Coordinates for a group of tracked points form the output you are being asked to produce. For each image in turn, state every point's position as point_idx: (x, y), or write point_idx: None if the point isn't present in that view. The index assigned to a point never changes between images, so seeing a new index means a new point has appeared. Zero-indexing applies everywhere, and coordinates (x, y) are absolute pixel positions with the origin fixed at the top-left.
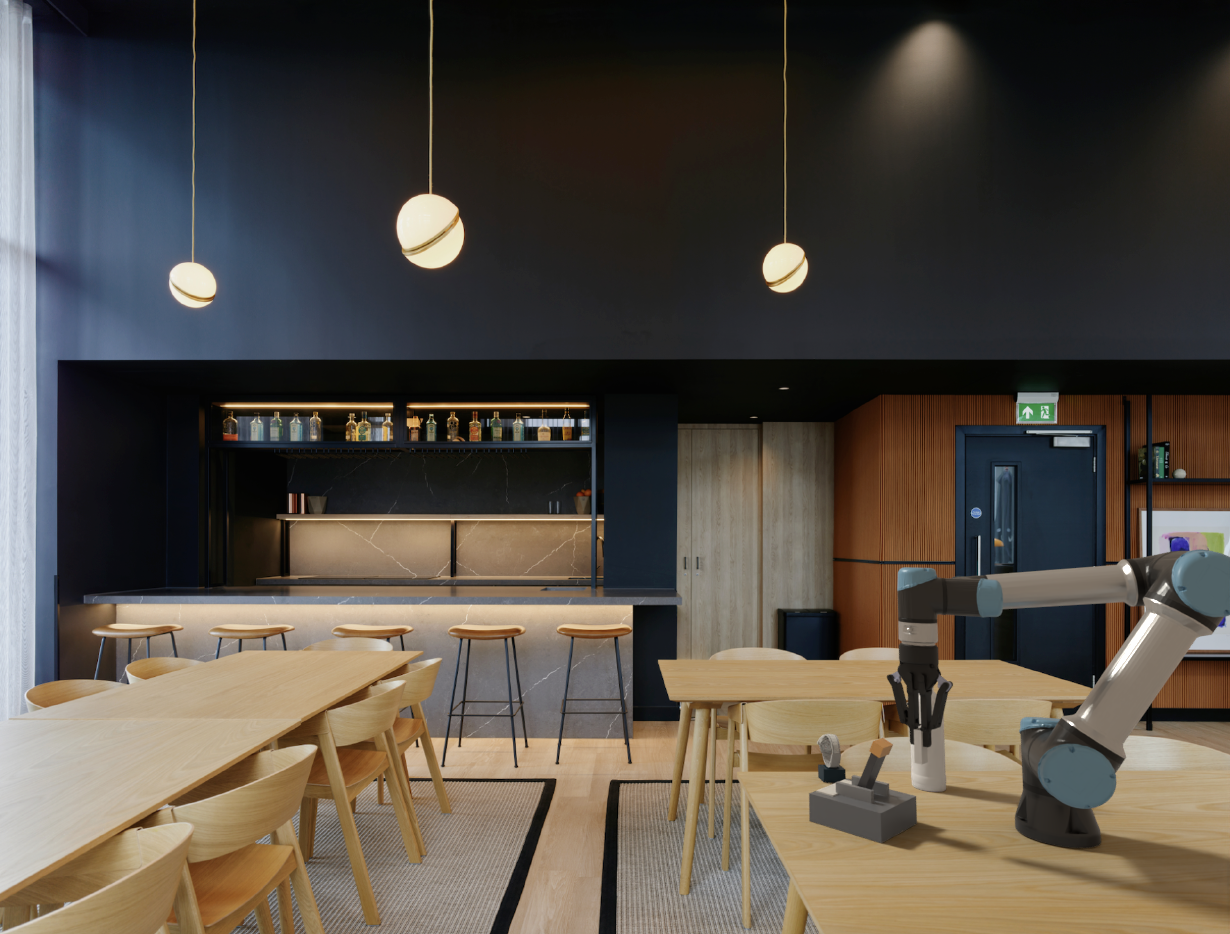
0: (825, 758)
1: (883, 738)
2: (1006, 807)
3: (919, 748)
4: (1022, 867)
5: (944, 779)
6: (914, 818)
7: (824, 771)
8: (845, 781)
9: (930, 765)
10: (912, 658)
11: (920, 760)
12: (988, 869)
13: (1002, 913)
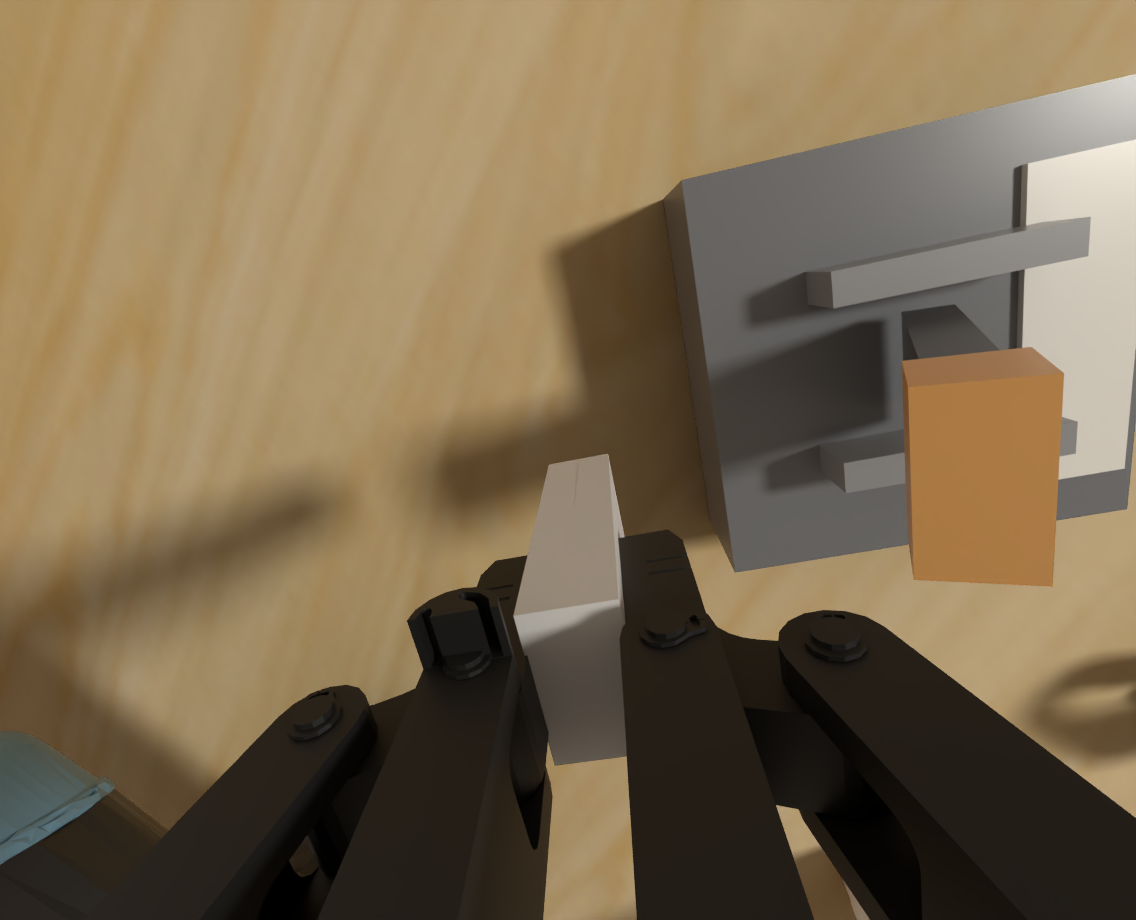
0: None
1: (1040, 579)
2: (626, 882)
3: (557, 510)
4: (268, 473)
5: (858, 914)
6: (711, 510)
7: None
8: (1101, 442)
9: None
10: None
11: (556, 471)
12: (299, 353)
13: (4, 24)
